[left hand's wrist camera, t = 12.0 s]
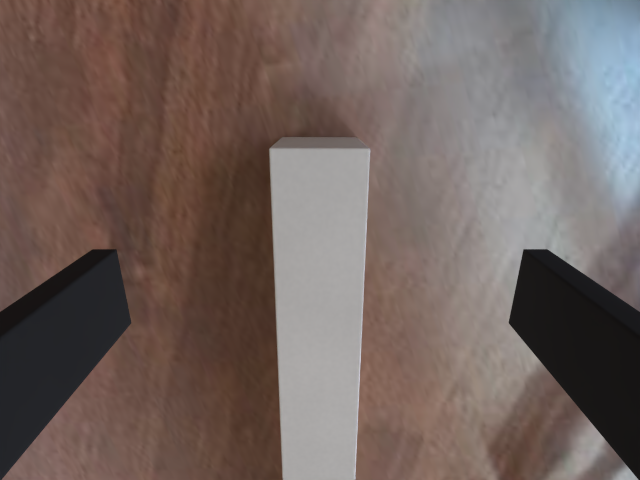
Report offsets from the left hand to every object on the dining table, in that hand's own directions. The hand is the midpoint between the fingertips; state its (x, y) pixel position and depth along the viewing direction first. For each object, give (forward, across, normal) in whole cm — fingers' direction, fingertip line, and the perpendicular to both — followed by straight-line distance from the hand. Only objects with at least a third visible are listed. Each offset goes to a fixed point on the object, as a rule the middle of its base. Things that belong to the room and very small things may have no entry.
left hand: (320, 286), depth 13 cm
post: (+17, 0, -30) cm, 35 cm away
